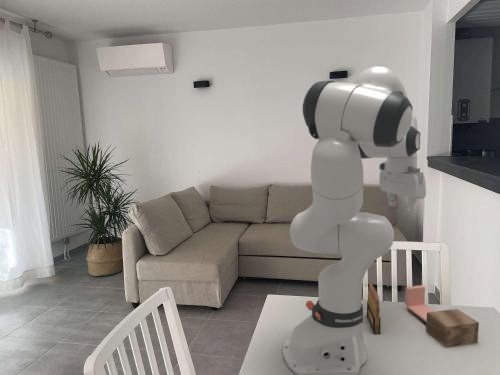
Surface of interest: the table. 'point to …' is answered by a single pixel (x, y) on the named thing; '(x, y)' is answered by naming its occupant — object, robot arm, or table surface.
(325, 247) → the robot arm
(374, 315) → the brown flat panel
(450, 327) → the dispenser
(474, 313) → the table surface
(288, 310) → the table surface
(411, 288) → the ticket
